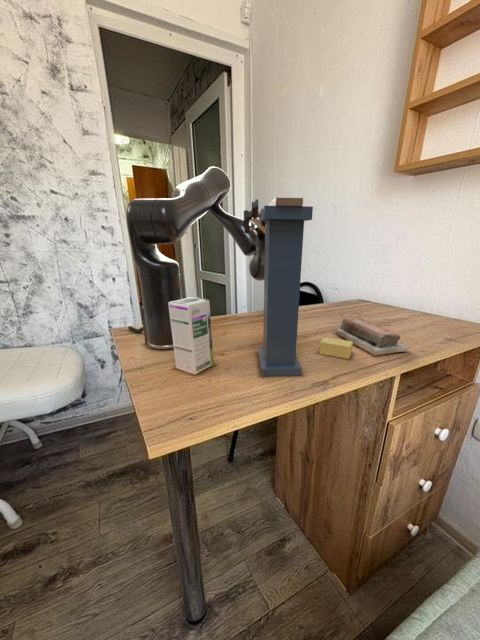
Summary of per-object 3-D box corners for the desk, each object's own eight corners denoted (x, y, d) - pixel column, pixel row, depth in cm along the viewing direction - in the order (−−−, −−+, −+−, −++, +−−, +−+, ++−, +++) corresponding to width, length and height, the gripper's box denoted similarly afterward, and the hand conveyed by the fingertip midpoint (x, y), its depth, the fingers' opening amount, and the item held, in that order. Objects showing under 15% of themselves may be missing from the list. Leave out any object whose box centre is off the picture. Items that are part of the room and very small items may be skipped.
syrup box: (195, 375, 59) (189, 304, 54) (174, 368, 62) (167, 300, 56) (214, 365, 63) (210, 299, 58) (194, 359, 66) (189, 295, 61)
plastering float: (335, 317, 83) (365, 314, 86) (333, 333, 85) (362, 330, 88) (377, 337, 67) (412, 333, 70) (374, 357, 69) (408, 352, 72)
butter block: (319, 353, 71) (320, 341, 70) (323, 348, 74) (324, 336, 73) (348, 359, 68) (350, 347, 67) (351, 353, 71) (353, 341, 70)
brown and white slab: (275, 205, 47) (276, 192, 46) (264, 213, 69) (264, 205, 69) (302, 206, 47) (303, 193, 47) (283, 214, 70) (283, 205, 69)
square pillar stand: (261, 376, 59) (264, 205, 48) (258, 353, 70) (259, 210, 59) (300, 375, 60) (313, 206, 48) (291, 352, 71) (299, 211, 59)
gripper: (243, 227, 80) (243, 186, 64) (294, 228, 81) (307, 188, 65) (243, 253, 79) (244, 218, 63) (295, 254, 80) (309, 219, 64)
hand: (276, 203), depth 64 cm, fingers open, 8 cm apart
